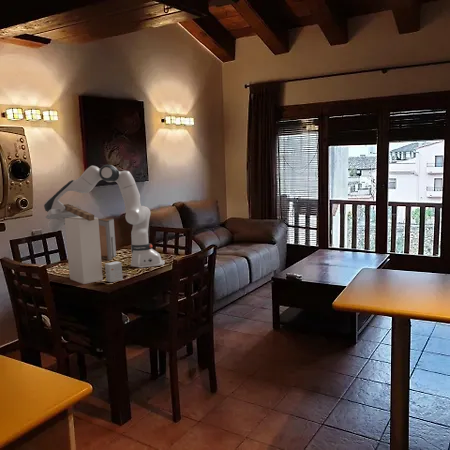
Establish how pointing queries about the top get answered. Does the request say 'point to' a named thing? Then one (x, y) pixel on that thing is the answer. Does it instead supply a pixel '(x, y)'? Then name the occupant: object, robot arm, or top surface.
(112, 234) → the cabinet
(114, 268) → the small box
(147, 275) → the top surface
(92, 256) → the off-white pedestal
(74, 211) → the walnut bar
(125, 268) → the top surface
